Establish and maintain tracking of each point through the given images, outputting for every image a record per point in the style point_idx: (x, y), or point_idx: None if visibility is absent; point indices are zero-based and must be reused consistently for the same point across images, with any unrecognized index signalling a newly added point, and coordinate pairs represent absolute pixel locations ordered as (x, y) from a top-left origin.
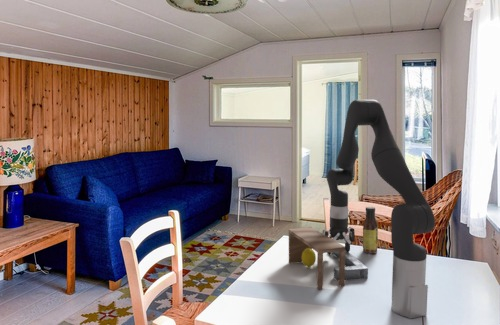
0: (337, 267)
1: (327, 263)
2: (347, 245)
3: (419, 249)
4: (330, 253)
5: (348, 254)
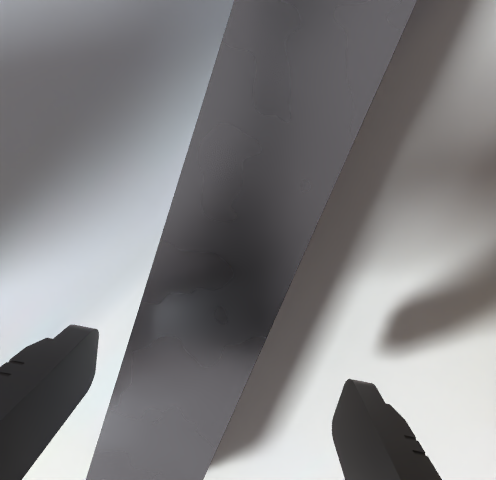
0: None
1: (442, 283)
2: (15, 418)
3: None
4: (369, 392)
5: (250, 140)
